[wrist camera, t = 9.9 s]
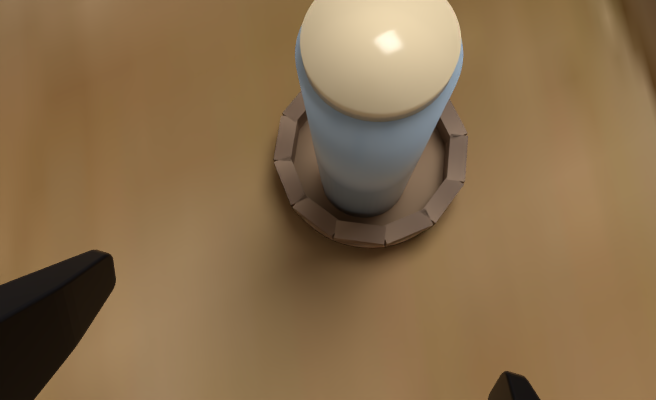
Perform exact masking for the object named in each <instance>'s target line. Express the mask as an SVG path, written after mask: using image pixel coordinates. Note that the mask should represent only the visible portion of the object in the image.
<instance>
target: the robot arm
mask: <svg viewBox="0 0 656 400" xmlns="http://www.w3.org/2000/svg"><path fill="white" fill-rule="evenodd" d="M115 283H116V276H115V269H114V262H113V257H112V256H111V254H109V253H106V252H102V251H99V250H91V251H88V252H85V253H83V254H80V255H77V256H75V257H72V258H70V259H67V260H64V261H62V262H59V263H57V264H54V265H51V266H49V267H46V268H44V269H41V270H38V271H36V272H33V273H31V274H28V275H25V276H23V277H20V278H18V279H15V280H12V281H10V282H7V283H5V284H2V285H0V400H34V399H35V398H36V396H37V395H38V394H39V393H40V391H41V390H42V389H43V388H44V386H45V385H46V384H47V383H48V381H49V380H50V379H51V378H52V376H53V375H54V374H55V373H56V371H57V370H58V369H59V368H60V366H61V365H62V364H63V363H64V361H65V360H66V359H67V358H68V356H69V355H70V354H71V352H72V351H73V350H74V348H75V347H76V346H77V344H78V343H79V341H80V340H81V339H82V337H83V336H84V334H85V332H86V331H87V329H88V328H89V326H90V325H91V323H92V322H93V320H94V318H95V317H96V315H97V314H98V312H99V311H100V309H101V308H102V306H103V305H104V303H105V301H106V300H107V298H108V297H109V295H110V294H111V292H112V290H113V289H114V286H115ZM488 400H540V398H539V397H538V395H537V394H536V392H535V391H534V389H533V388H532V386H531V384H530V383H529V381H528V380H527V379H526V378H525V377H524V376H522V375H519V374H516V373H513V372H509V371H504V372H503V373H502V374H501V375H500V377H499V379H498V380H497V382H496V384H495V385H494V387H493V389H492V390H491V392H490V394H489V397H488Z"/></svg>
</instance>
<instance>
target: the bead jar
mask: <svg viewBox="0 0 656 400" xmlns="http://www.w3.org/2000/svg"><path fill="white" fill-rule="evenodd" d="M295 60H296V68H297V73H298V77H299V82H300V86H301V91H302V96H303V100H304V105H305V109H306V114H307V119H308V123H309V128H310V132H311V137H312V141H313V146H314V151H315V155H316V160H317V164H318V169H319V174H320V178H321V183H322V187H323V190H324V193H325V195H326V197H327V198H328V200H329V201H330V202H331V203H332V204H333V205H334V206H335V207H336V208H337V209H338V210H340V211H341V212H343V213H345V214H347V215H350V216H354V217H360V218H367V217H374V216H378V215H380V214H383V213H384V212H386V211H388V210H389V209H391V208H392V207H393V206H394V205H395V204H396V203H397V202H398V200H399V199H400V197H401V195H402V194H403V192H404V190H405V187H406V185H407V183H408V181H409V179H410V177H411V175H412V173H413V171H414V169H415V167H416V165H417V163H418V161H419V159H420V157H421V155H422V153H423V151H424V149H425V147H426V145H427V143H428V141H429V139H430V137H431V135H432V132H433V130H434V128H435V126H436V124H437V122H438V120H439V118H440V116H441V114H442V112H443V110H444V108H445V106H446V104H447V102H448V100H449V98H450V96H451V94H452V92H453V90H454V88H455V86H456V83H457V81H458V78H459V76H460V73H461V68H462V63H463V45H462V40H461V32H460V27H459V23H458V20H457V17H456V15H455V13H454V11H453V9H452V7H451V6H450V4H449V3H448V2H447V0H314V2H313V3H312V5H311V6H310V8H309V10H308V12H307V14H306V15H305V18H304V21H303V24H302V26H301V28H300V31H299V34H298V37H297V42H296V47H295Z"/></svg>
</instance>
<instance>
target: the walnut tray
mask: <svg viewBox="0 0 656 400" xmlns="http://www.w3.org/2000/svg"><path fill="white" fill-rule="evenodd" d="M282 114H283V116H281V120H280V126H279V131H278V137H277V143H276V149H275V154H274V161H275V162H274V164H275V166H276V169H277V171H278V174H279V176H280V179H281V181H282V184H283V186H284V189H285V191H286V194H287V197H288V199H289V202H290V204H291V206H292V208H293V209H294V211H295V212H296V213H297V214H299V215H300V216H301V217H302V218H303V219H304V220H305V222H307V223H308V224H309V225H310V226H311V227H312V228H313V229H315V230H316V231H318V232H319V233H321V234H322V235H324V236H326V237H328V238H330V239H331V240H334V241H336V242H339V243H342V244H345V245H349V246H355V247H363V248H378V247H387V246H391V245H395V244H398V243H401V242H404V241H407V240H409V239H411V238H413V237H415V236H417V235H418V234H419V233H421V232H423V231H425V230H427V229H429V228H430V227H432V226H433V225H434V224H435V223H436V222H437V220H438V219H439V218H440V216H441V215H442V214H443V212H444V211H445V210H446V208H447V207H448V205H449V204H450V203H451V201H452V200H453V199H454V197H455V196H456V195H457V193H458V192H459V190H460V189H461V188H462V186H463V185H464V184H463V183H464V182H465V173H466V158H467V144H468V136H466V135H467V131H466V129H465V127H464V125H463V124H462V122H461V120H460V118H459V116H458V114H457V112H456V110H455V108H454V106H453V105H452V103H451V101H450V99H449V100H448V102H447V104H446V106H445V108H444V110H443V112H442V114H441V116H440V118H439V120H438V122H437V124H436V126H435V128H434V130H433V132H432V135H431V137H430V139H429V141H428V143H427V145H426V147H425V149H424V151H423V153H422V155H421V157H420V159H419V161H418V163H417V165H416V167H415V169H414V171H413V173H412V175H411V177H410V179H409V181H408V183H407V185H406V187H405V190H404V192H403V194H402V195H401V197H400V199H399V200H398V202H397V203H396V204H395V205H394V206H393V207H392V208H391V209H389V210H388V211H386V212H384V213H383V214H380V215H378V216H374V217H367V218H360V217H354V216H350V215H347V214H345V213H343V212H341V211H340V210H338V209H337V208H336V207H335V206H334V205H333V204H332V203H331V202H330V201H329V200H328V198H327V197H326V195H325V193H324V190H323V187H322V183H321V178H320V174H319V169H318V164H317V160H316V155H315V151H314V146H313V141H312V137H311V132H310V128H309V123H308V119H307V114H306V109H305V105H304V100H303V96H302V91H301V92H300V93H299V94H298V95H297V96H296V98H295V99H294V100H293V101H292V102H291V103H290V105H289V106H288V107H287V108H286V109H285V111H284V112H283V113H282Z"/></svg>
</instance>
